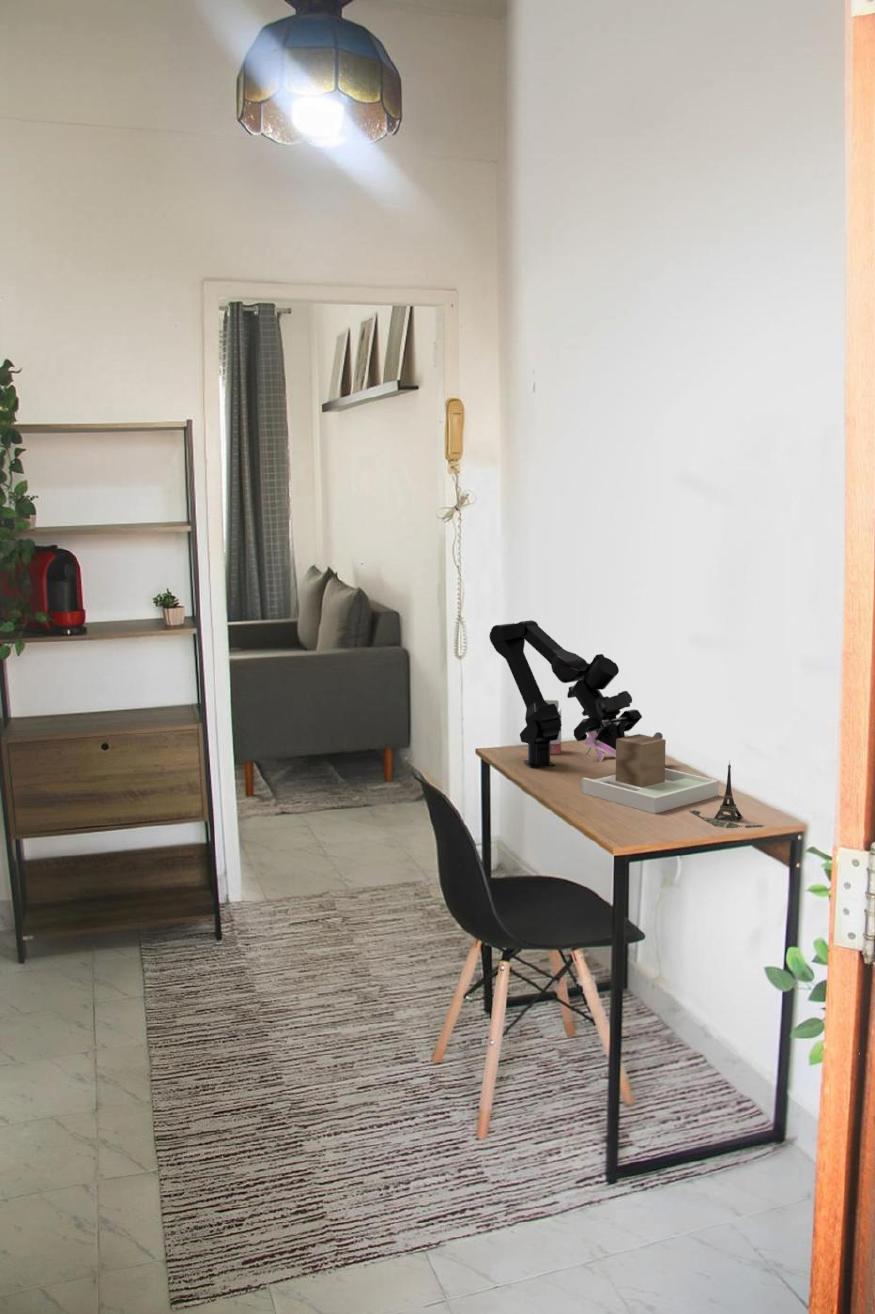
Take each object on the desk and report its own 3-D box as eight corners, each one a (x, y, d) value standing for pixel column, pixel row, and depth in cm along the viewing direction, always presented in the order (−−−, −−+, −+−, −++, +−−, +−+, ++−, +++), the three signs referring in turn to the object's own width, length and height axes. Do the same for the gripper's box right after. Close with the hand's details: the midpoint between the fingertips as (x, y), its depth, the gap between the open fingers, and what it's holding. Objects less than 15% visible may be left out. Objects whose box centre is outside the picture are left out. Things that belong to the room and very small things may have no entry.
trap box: (582, 792, 257) (582, 778, 256) (645, 777, 270) (645, 763, 270) (655, 813, 240) (655, 798, 239) (718, 795, 253) (718, 780, 253)
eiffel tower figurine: (687, 813, 242) (688, 753, 240) (728, 809, 245) (730, 750, 243) (722, 833, 228) (723, 770, 226) (765, 828, 230) (767, 766, 228)
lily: (575, 766, 286) (591, 737, 281) (563, 740, 295) (579, 711, 291) (614, 776, 290) (631, 748, 285) (602, 750, 299) (618, 722, 295)
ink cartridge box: (561, 750, 299) (562, 697, 297) (559, 754, 294) (559, 700, 292) (530, 749, 301) (530, 696, 299) (527, 753, 296) (527, 699, 294)
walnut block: (615, 780, 258) (616, 738, 256) (638, 775, 263) (639, 734, 261) (641, 787, 251) (642, 744, 250) (664, 781, 256) (665, 739, 255)
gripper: (582, 685, 256) (617, 739, 249) (636, 676, 267) (671, 728, 260) (558, 713, 263) (592, 767, 256) (612, 704, 274) (645, 754, 267)
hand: (626, 753), depth 259 cm, fingers closed
